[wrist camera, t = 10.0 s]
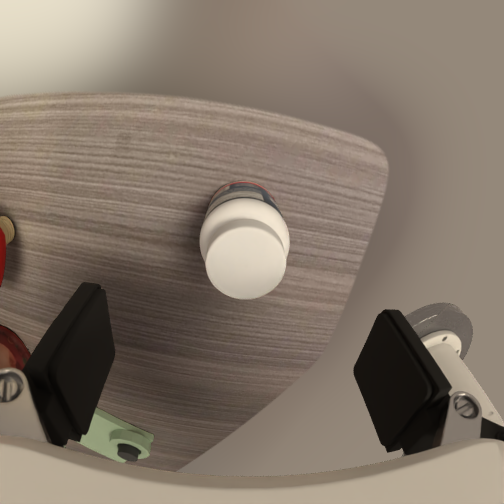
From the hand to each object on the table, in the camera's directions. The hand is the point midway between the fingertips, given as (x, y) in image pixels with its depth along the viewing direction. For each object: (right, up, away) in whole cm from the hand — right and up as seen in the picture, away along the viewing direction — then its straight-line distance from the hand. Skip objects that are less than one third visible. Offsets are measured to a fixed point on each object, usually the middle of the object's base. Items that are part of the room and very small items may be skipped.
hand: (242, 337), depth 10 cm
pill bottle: (0, +6, +13) cm, 15 cm away
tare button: (-17, -25, +23) cm, 38 cm away
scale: (-23, -25, +26) cm, 43 cm away
